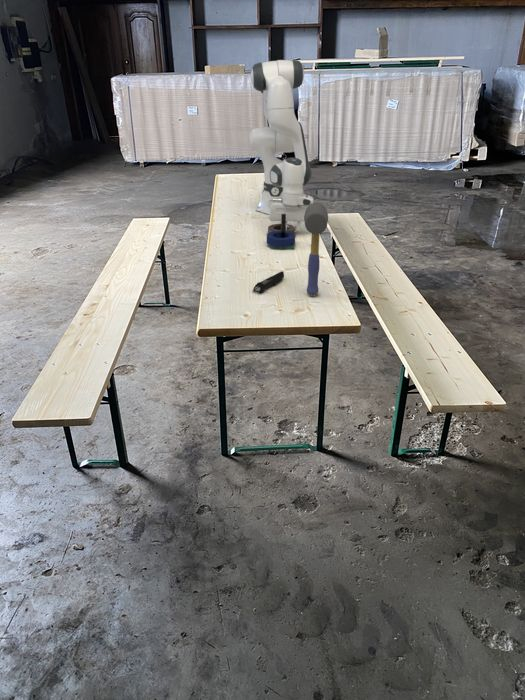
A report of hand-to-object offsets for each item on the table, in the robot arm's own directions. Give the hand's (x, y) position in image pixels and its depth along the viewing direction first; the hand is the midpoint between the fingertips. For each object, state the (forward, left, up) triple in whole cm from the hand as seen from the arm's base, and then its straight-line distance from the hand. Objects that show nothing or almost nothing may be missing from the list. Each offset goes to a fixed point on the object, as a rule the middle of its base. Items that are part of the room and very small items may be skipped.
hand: (291, 230), depth 231 cm
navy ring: (+14, -4, -1) cm, 15 cm away
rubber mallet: (+63, +8, -2) cm, 64 cm away
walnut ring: (0, -5, -2) cm, 5 cm away
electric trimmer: (+56, -7, -2) cm, 56 cm away
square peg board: (+14, -3, -2) cm, 15 cm away
